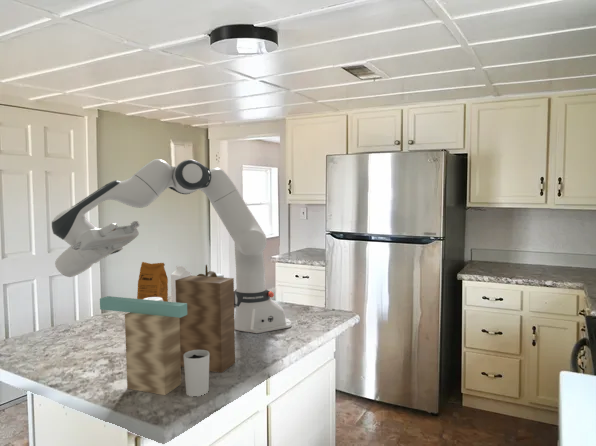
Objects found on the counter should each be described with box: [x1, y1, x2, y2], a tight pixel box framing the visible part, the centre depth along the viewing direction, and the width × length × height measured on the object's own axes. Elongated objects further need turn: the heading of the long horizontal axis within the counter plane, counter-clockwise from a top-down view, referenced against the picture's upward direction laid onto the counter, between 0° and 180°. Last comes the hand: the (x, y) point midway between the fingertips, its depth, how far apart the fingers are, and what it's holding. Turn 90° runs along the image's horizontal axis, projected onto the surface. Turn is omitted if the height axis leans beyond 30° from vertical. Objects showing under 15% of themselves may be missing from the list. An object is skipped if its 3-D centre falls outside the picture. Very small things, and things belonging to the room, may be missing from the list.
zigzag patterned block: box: [124, 312, 182, 396], centre depth 121 cm, size 12×7×20 cm, turn 70°
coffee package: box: [136, 261, 169, 302], centre depth 196 cm, size 10×12×22 cm
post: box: [175, 274, 236, 373], centre depth 136 cm, size 15×8×26 cm, turn 70°
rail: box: [99, 295, 187, 318], centre depth 121 cm, size 26×3×3 cm, turn 70°
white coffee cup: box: [183, 350, 210, 397], centre depth 118 cm, size 7×7×10 cm
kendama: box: [196, 264, 217, 277], centre depth 201 cm, size 6×10×20 cm, turn 160°
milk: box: [170, 265, 193, 302], centre depth 185 cm, size 6×6×22 cm
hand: (126, 224), depth 136 cm, fingers open, 8 cm apart
